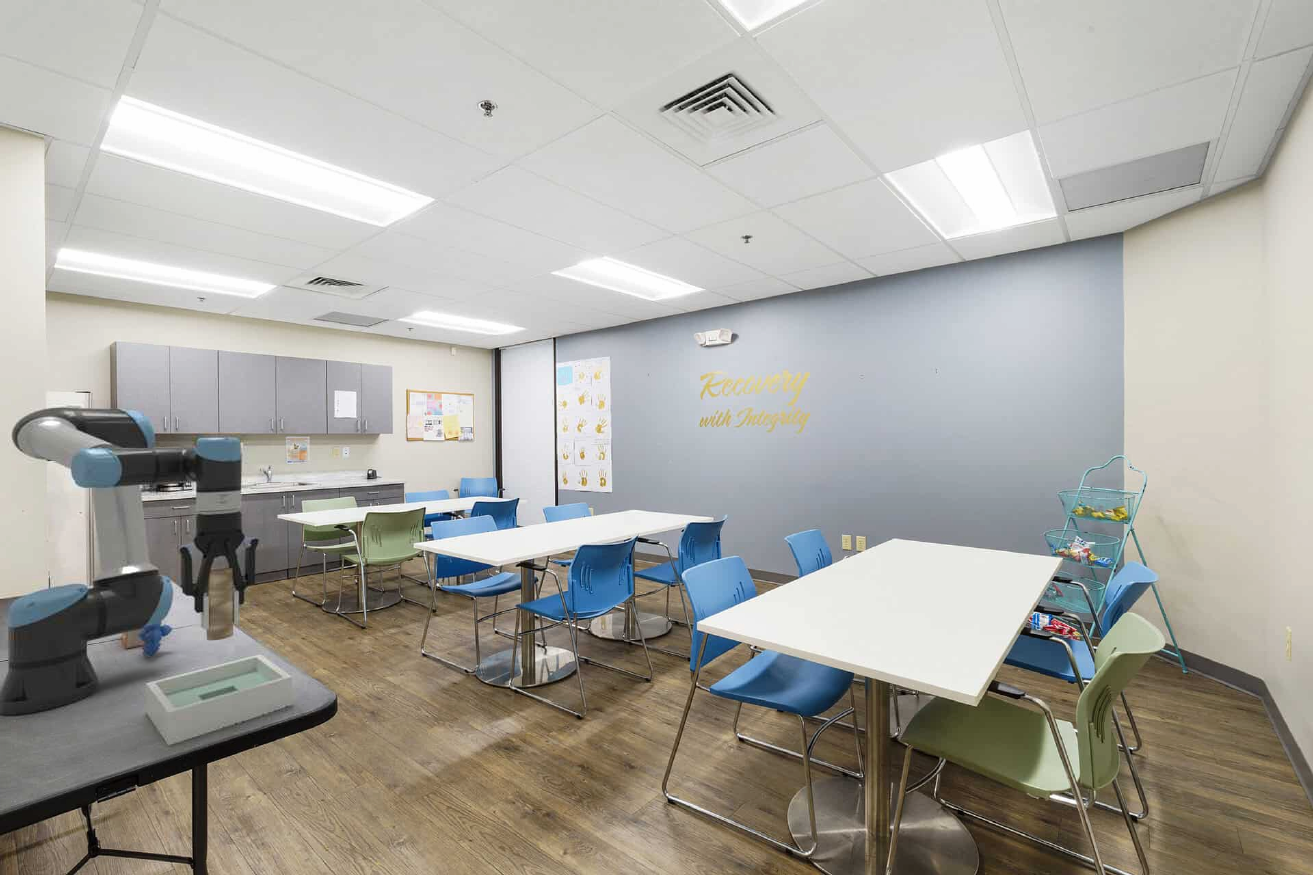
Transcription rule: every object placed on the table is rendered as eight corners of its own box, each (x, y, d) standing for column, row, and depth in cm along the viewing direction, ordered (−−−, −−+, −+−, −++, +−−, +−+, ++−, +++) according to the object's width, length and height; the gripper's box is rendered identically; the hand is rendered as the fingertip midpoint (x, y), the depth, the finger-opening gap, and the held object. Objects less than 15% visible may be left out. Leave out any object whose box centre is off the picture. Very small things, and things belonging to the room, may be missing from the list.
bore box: (168, 745, 104) (168, 712, 104) (146, 712, 116) (146, 683, 116) (292, 705, 119) (292, 676, 119) (260, 680, 132) (260, 654, 132)
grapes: (176, 656, 146) (176, 610, 146) (141, 664, 141) (141, 616, 142) (169, 645, 154) (169, 601, 154) (135, 652, 149) (135, 607, 149)
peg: (209, 641, 115) (209, 572, 115) (204, 637, 117) (203, 569, 117) (236, 635, 118) (235, 568, 118) (229, 631, 121) (229, 565, 121)
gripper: (169, 517, 109) (169, 639, 109) (273, 508, 122) (274, 617, 122) (160, 514, 114) (161, 631, 113) (262, 506, 127) (263, 610, 127)
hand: (220, 623), depth 118 cm, fingers closed on peg, 4 cm apart
